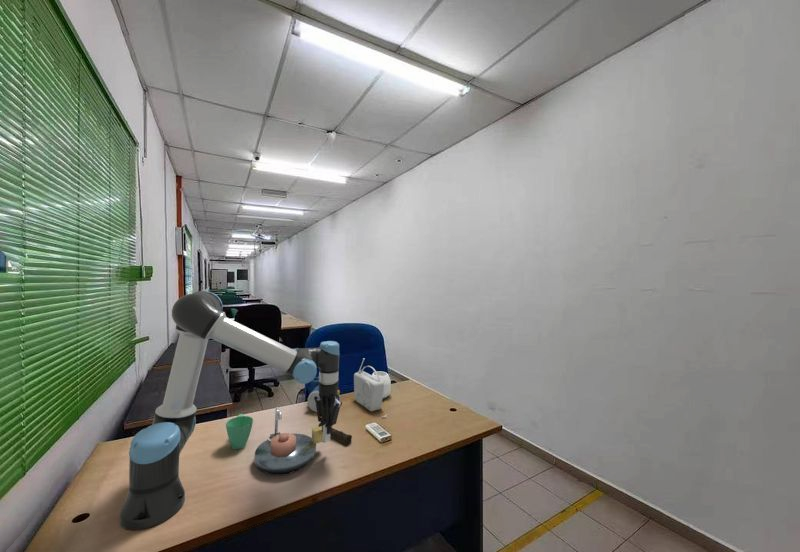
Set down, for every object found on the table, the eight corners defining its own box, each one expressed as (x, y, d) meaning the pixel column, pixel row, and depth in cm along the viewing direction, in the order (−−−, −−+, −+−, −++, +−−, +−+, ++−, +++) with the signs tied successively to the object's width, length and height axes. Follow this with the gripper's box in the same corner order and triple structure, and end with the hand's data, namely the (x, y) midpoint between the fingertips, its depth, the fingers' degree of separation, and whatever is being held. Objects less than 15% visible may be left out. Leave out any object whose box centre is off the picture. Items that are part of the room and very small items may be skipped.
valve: (314, 400, 174) (313, 374, 172) (340, 402, 172) (340, 377, 170) (304, 413, 161) (303, 386, 159) (332, 416, 159) (331, 389, 157)
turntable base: (282, 481, 108) (282, 475, 108) (249, 463, 117) (249, 458, 117) (320, 455, 123) (320, 450, 123) (288, 441, 132) (289, 437, 132)
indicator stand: (270, 436, 135) (271, 405, 135) (279, 434, 138) (280, 404, 137) (274, 447, 127) (275, 414, 127) (284, 445, 130) (285, 412, 129)
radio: (350, 399, 177) (351, 355, 177) (362, 396, 182) (364, 354, 182) (370, 414, 160) (372, 366, 160) (384, 410, 165) (385, 363, 165)
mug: (252, 449, 125) (253, 425, 125) (224, 455, 121) (225, 429, 121) (252, 432, 139) (252, 409, 138) (226, 436, 134) (227, 413, 134)
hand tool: (352, 443, 133) (352, 432, 133) (345, 447, 130) (345, 436, 130) (323, 428, 145) (323, 418, 145) (316, 432, 141) (316, 421, 141)
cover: (281, 459, 113) (281, 444, 113) (265, 451, 117) (265, 437, 117) (300, 448, 120) (301, 434, 120) (285, 440, 125) (285, 427, 125)
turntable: (281, 480, 105) (282, 459, 105) (241, 458, 116) (242, 439, 116) (331, 447, 125) (331, 429, 125) (293, 431, 137) (293, 415, 136)
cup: (365, 399, 178) (366, 376, 178) (371, 391, 191) (372, 369, 191) (388, 402, 176) (389, 378, 176) (392, 393, 189) (393, 371, 189)
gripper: (347, 382, 123) (345, 441, 123) (323, 375, 130) (321, 432, 130) (334, 388, 116) (332, 450, 117) (309, 380, 123) (307, 440, 123)
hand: (326, 440), depth 123 cm, fingers closed
